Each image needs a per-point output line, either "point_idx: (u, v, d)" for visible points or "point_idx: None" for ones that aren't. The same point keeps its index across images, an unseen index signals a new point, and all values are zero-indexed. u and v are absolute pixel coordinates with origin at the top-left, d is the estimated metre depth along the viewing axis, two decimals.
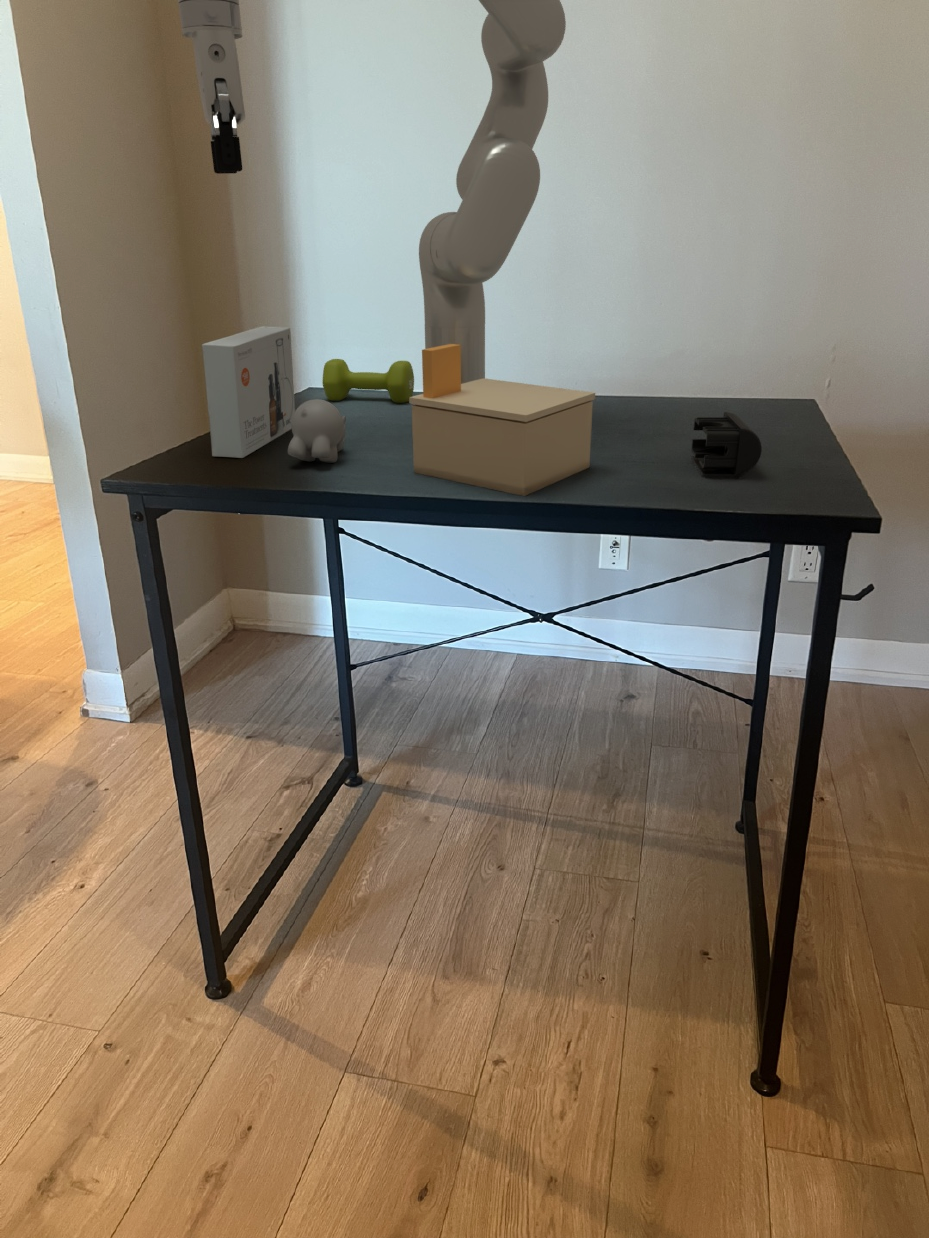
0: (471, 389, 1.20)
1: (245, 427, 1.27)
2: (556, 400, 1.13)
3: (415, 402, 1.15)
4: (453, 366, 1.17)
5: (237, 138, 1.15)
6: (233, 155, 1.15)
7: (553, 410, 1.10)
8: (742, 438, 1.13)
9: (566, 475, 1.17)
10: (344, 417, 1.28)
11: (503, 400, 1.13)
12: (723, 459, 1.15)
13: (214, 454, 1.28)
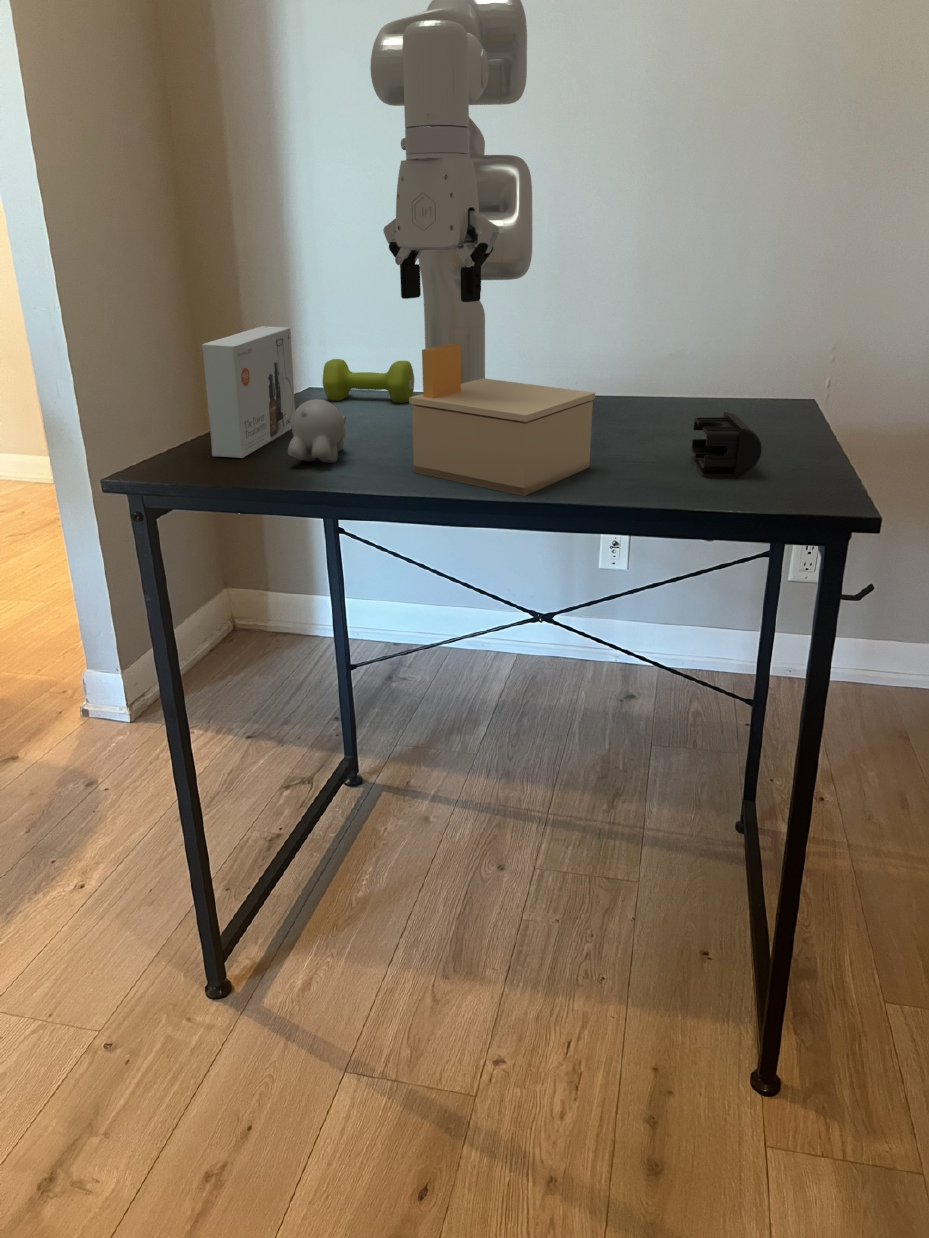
0: (471, 389, 1.20)
1: (245, 427, 1.27)
2: (556, 400, 1.13)
3: (415, 402, 1.15)
4: (453, 366, 1.17)
5: None
6: None
7: (553, 410, 1.10)
8: (742, 438, 1.13)
9: (566, 475, 1.17)
10: (344, 417, 1.28)
11: (503, 400, 1.13)
12: (723, 459, 1.15)
13: (214, 454, 1.28)
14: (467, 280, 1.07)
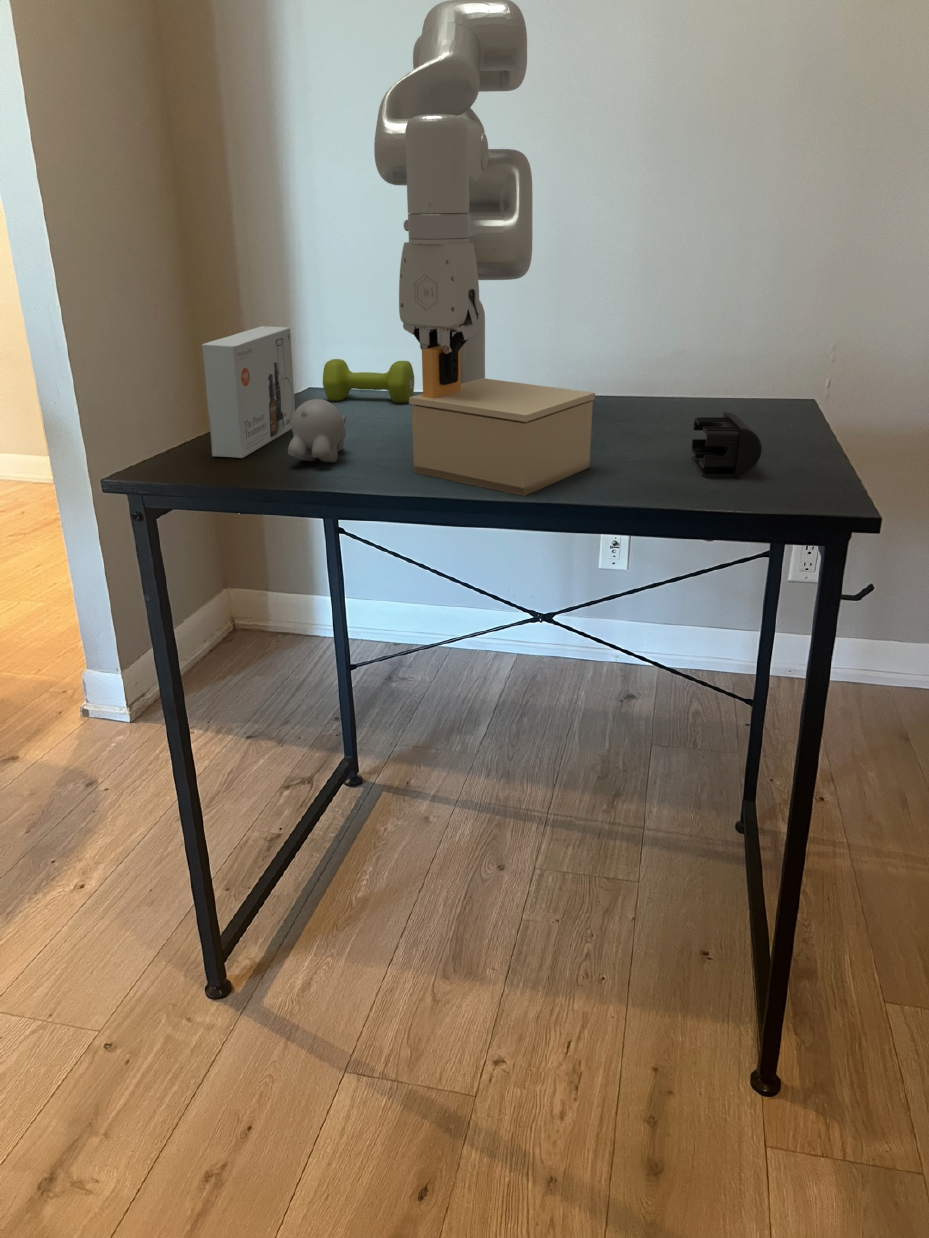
0: (471, 389, 1.20)
1: (245, 427, 1.27)
2: (556, 400, 1.13)
3: (415, 402, 1.15)
4: None
5: None
6: None
7: (553, 410, 1.10)
8: (742, 438, 1.13)
9: (566, 475, 1.17)
10: (344, 417, 1.28)
11: (503, 400, 1.13)
12: (723, 459, 1.15)
13: (214, 454, 1.28)
14: (445, 365, 1.14)
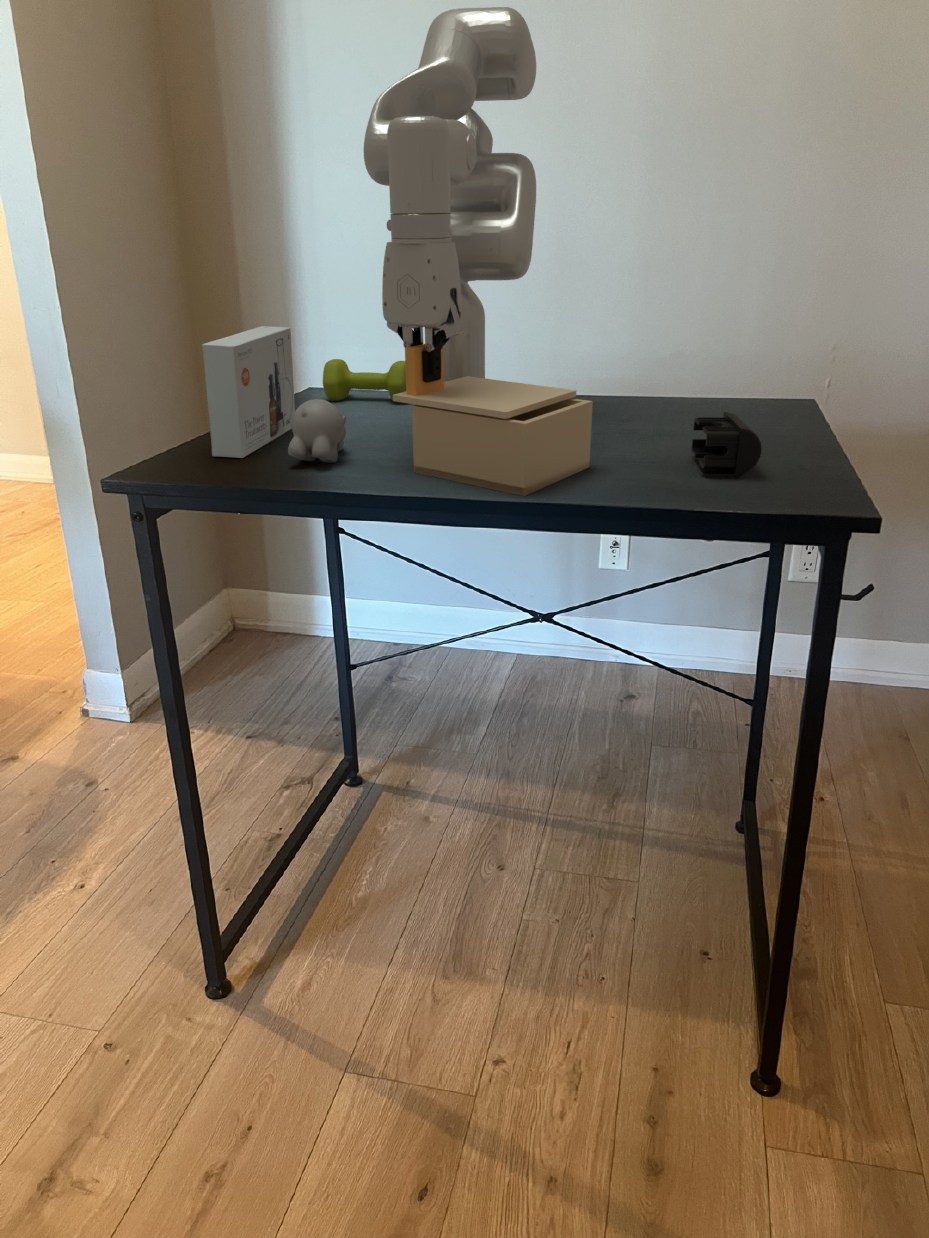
0: (454, 387, 1.22)
1: (245, 427, 1.27)
2: (537, 397, 1.15)
3: (398, 399, 1.17)
4: None
5: None
6: None
7: (534, 407, 1.12)
8: (742, 438, 1.13)
9: (566, 475, 1.17)
10: (344, 417, 1.28)
11: (485, 397, 1.15)
12: (723, 459, 1.15)
13: (214, 454, 1.28)
14: (428, 363, 1.16)
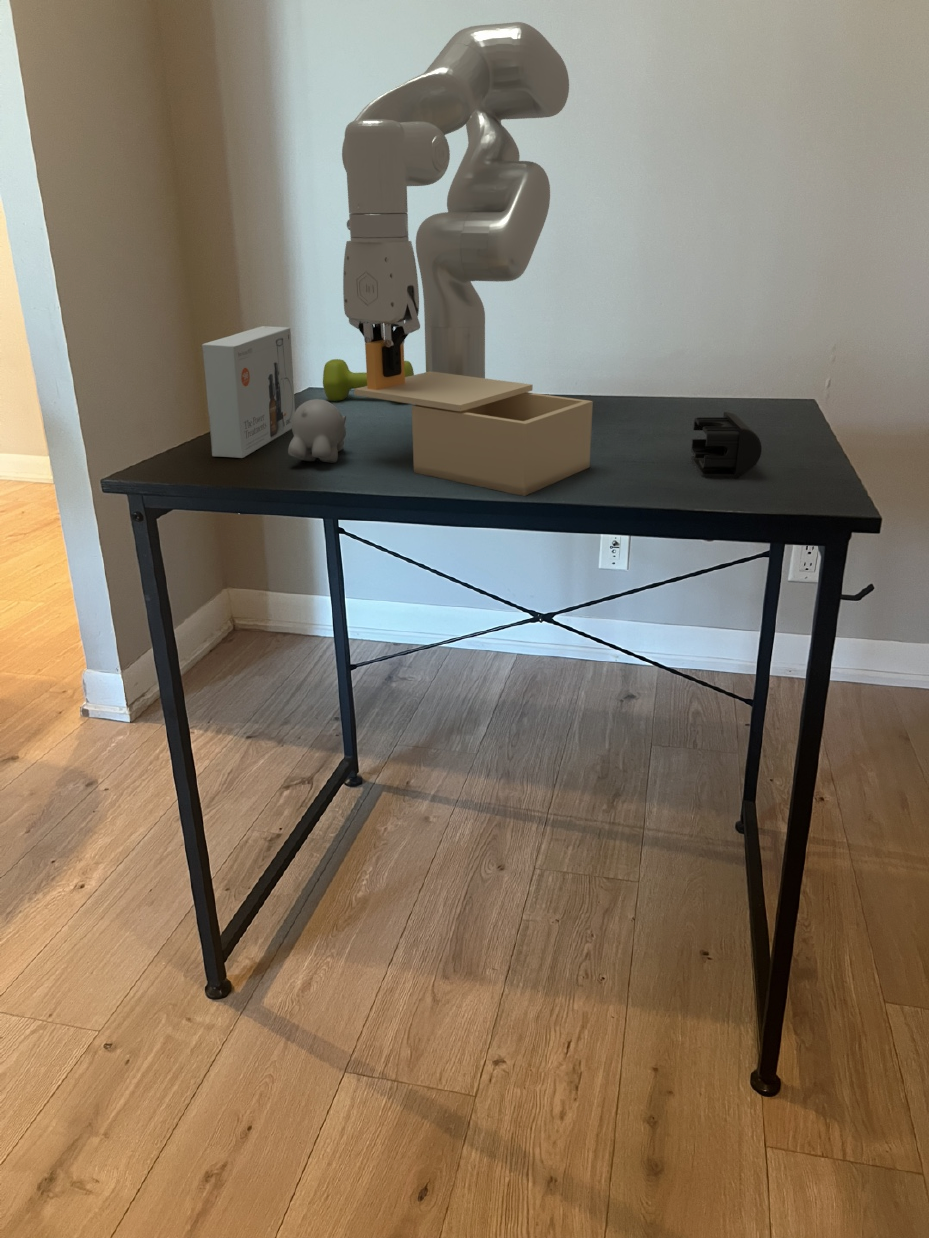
0: (415, 381, 1.25)
1: (245, 427, 1.27)
2: (493, 391, 1.18)
3: (359, 393, 1.21)
4: None
5: None
6: None
7: (488, 401, 1.16)
8: (742, 438, 1.13)
9: (566, 475, 1.17)
10: (344, 417, 1.28)
11: (442, 391, 1.19)
12: (723, 459, 1.15)
13: (214, 454, 1.28)
14: (388, 358, 1.20)
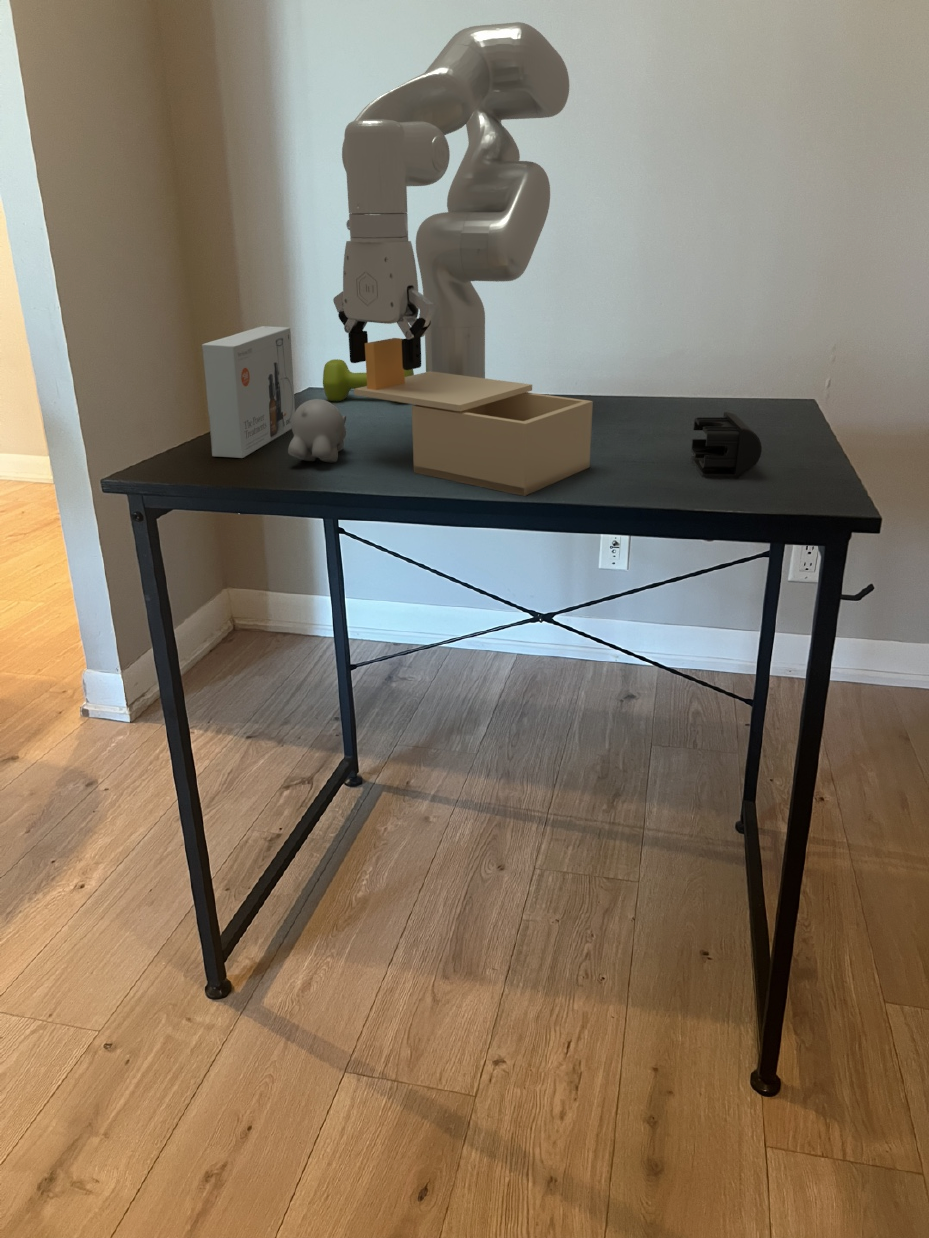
0: (415, 381, 1.26)
1: (245, 427, 1.27)
2: (493, 391, 1.19)
3: (359, 393, 1.21)
4: (396, 359, 1.22)
5: None
6: None
7: (488, 400, 1.16)
8: (742, 438, 1.13)
9: (566, 475, 1.17)
10: (344, 417, 1.28)
11: (442, 391, 1.19)
12: (723, 459, 1.15)
13: (214, 454, 1.28)
14: (408, 350, 1.17)
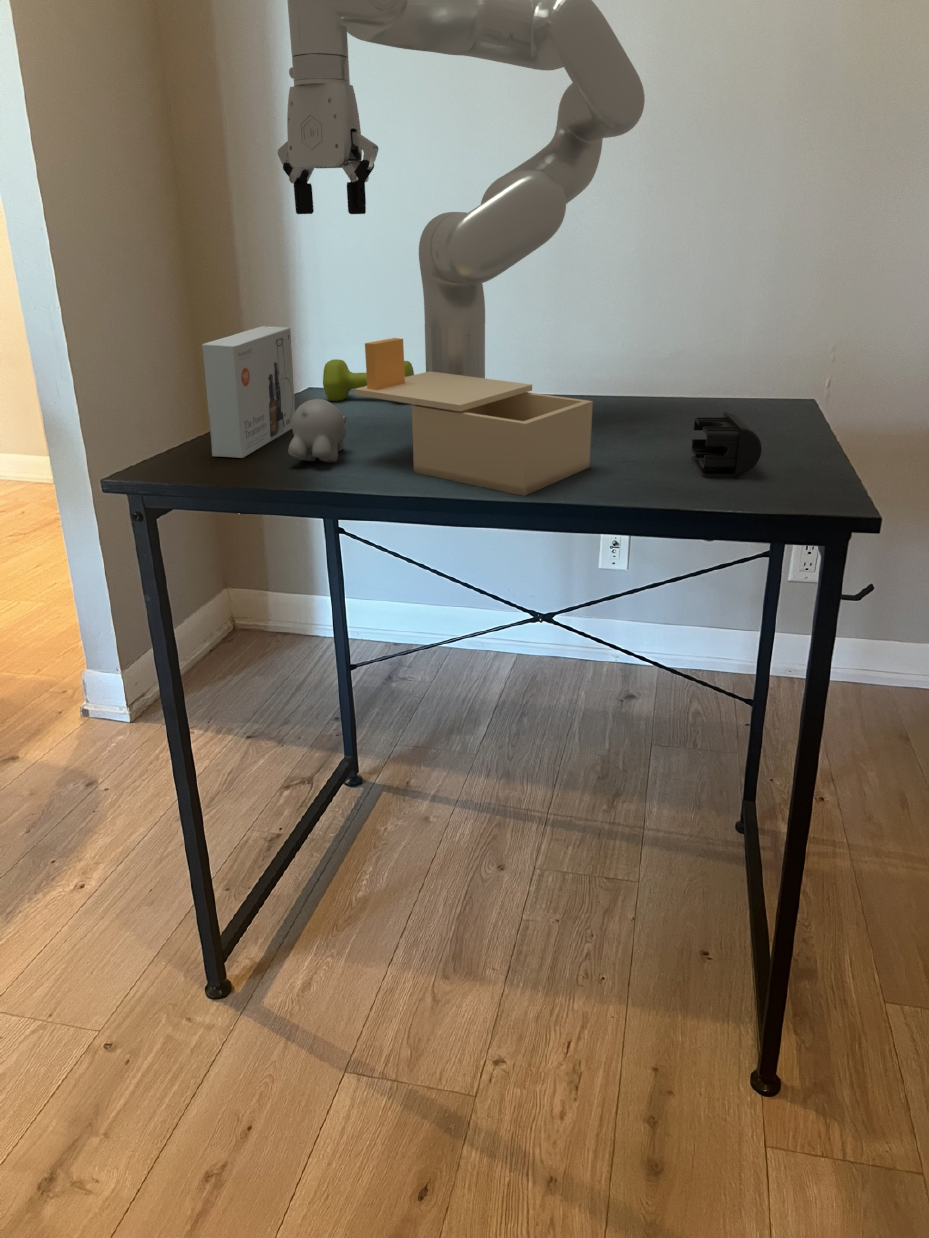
0: (415, 381, 1.26)
1: (245, 427, 1.27)
2: (493, 391, 1.19)
3: (359, 393, 1.21)
4: (396, 359, 1.22)
5: None
6: None
7: (488, 400, 1.16)
8: (742, 438, 1.13)
9: (566, 475, 1.17)
10: (344, 417, 1.28)
11: (442, 391, 1.19)
12: (723, 459, 1.15)
13: (214, 454, 1.28)
14: (353, 194, 1.22)
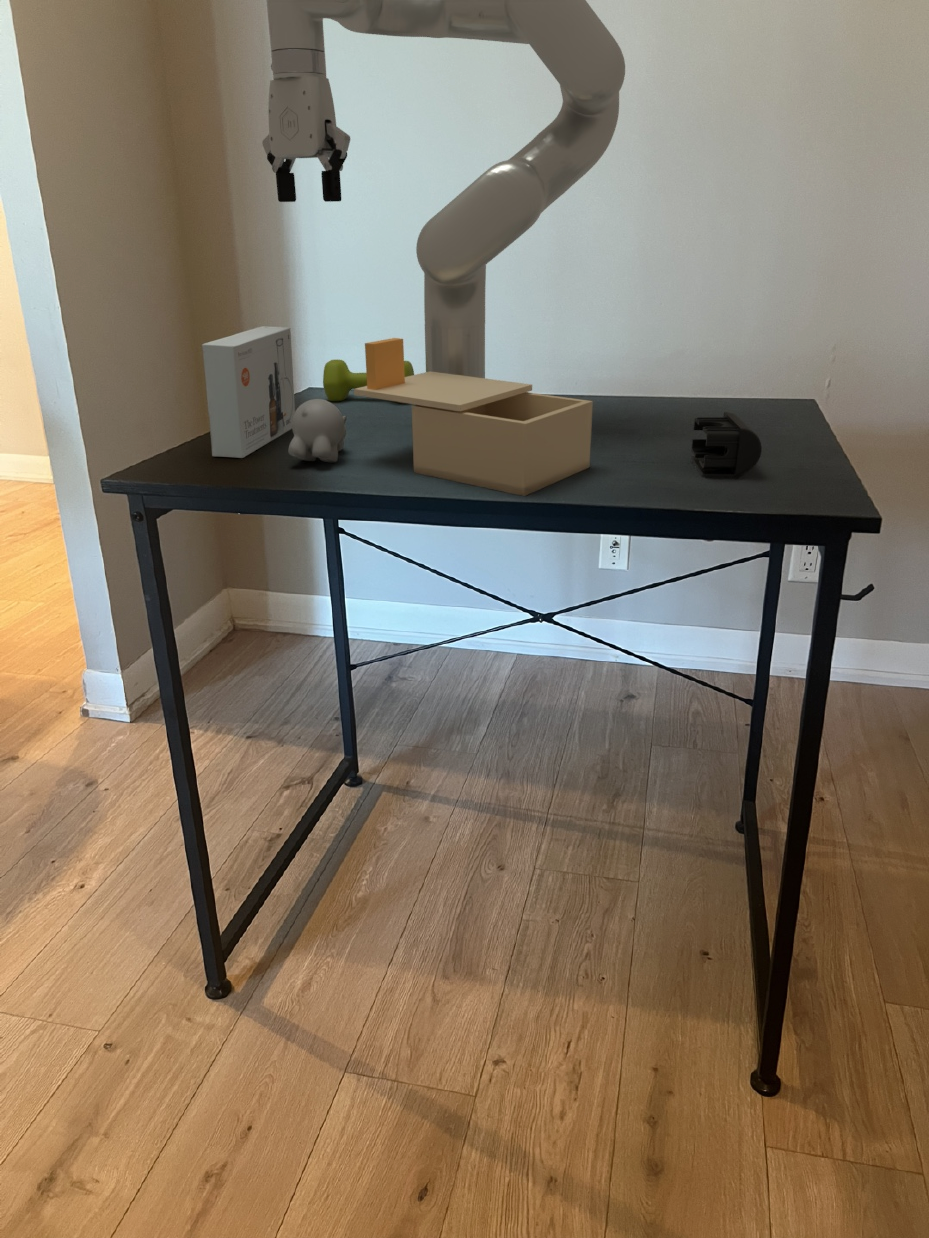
0: (415, 381, 1.26)
1: (245, 427, 1.27)
2: (493, 391, 1.19)
3: (359, 393, 1.21)
4: (396, 359, 1.22)
5: None
6: None
7: (488, 400, 1.16)
8: (742, 438, 1.13)
9: (566, 475, 1.17)
10: (344, 417, 1.28)
11: (442, 391, 1.19)
12: (723, 459, 1.15)
13: (214, 454, 1.28)
14: (327, 182, 1.28)
